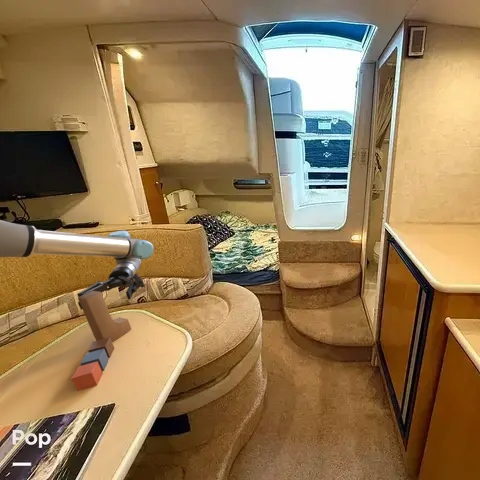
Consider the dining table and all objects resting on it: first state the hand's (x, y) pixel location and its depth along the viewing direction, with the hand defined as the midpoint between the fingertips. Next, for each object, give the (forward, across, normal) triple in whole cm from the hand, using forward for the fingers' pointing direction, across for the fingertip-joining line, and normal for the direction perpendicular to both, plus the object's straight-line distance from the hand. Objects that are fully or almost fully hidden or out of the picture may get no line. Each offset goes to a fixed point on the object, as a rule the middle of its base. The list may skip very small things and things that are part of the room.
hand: (104, 300), depth 91 cm
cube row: (+19, 0, -12) cm, 22 cm away
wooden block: (+4, -1, -12) cm, 13 cm away
